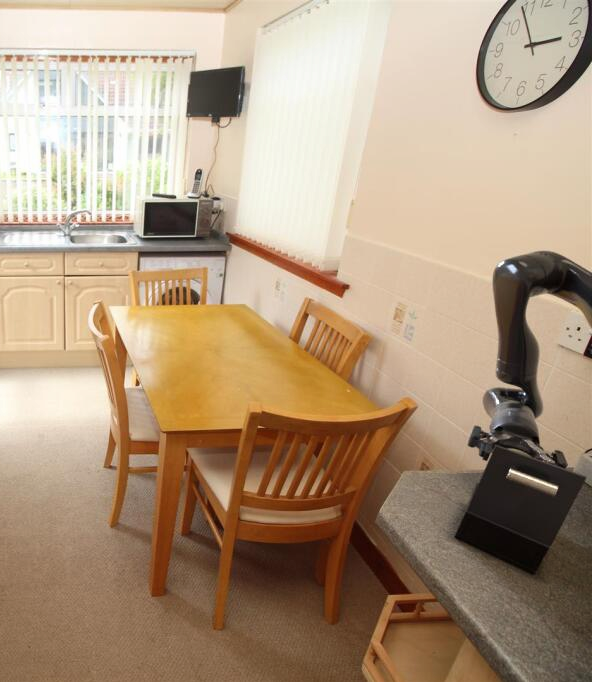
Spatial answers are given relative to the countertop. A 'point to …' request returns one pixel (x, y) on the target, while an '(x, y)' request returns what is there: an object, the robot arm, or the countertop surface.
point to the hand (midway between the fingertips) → (515, 466)
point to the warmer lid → (525, 494)
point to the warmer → (500, 541)
